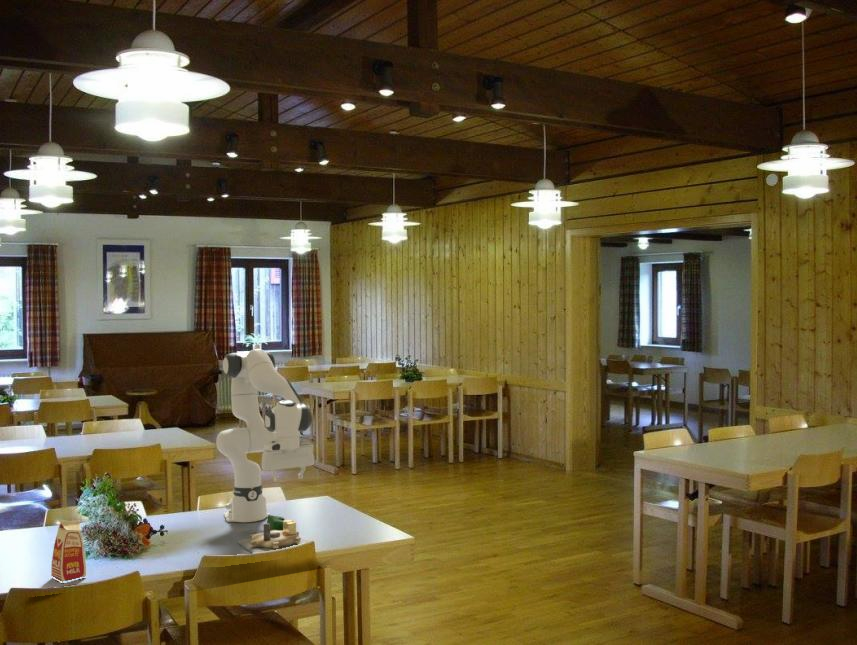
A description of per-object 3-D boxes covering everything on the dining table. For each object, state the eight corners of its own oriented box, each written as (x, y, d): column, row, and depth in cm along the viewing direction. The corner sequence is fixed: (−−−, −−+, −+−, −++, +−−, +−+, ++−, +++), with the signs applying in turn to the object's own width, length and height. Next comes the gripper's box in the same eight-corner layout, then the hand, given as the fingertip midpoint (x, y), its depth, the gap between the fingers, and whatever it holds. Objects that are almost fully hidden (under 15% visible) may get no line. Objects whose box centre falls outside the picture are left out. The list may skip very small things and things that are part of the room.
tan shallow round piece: (238, 546, 315) (237, 524, 315) (262, 533, 333) (261, 513, 333) (288, 549, 309) (287, 527, 309) (310, 536, 327) (309, 515, 327)
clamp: (282, 544, 338) (289, 525, 335) (268, 542, 336) (274, 523, 333) (279, 526, 348) (285, 508, 346) (265, 524, 346) (271, 505, 344)
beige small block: (283, 531, 326) (282, 520, 326) (290, 530, 328) (290, 519, 328) (288, 534, 321) (288, 523, 321) (296, 533, 322) (296, 522, 322)
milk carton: (62, 584, 278) (61, 523, 278) (49, 579, 284) (48, 519, 284) (89, 577, 285) (88, 517, 285) (76, 572, 291) (75, 514, 291)
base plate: (237, 542, 325) (237, 540, 325) (291, 534, 336) (291, 532, 336) (256, 556, 306) (256, 553, 306) (313, 546, 317) (313, 544, 317)
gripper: (310, 440, 332) (310, 475, 332) (259, 445, 322) (260, 481, 322) (316, 442, 326) (317, 478, 327) (265, 447, 316) (265, 484, 316)
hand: (288, 479), depth 324 cm, fingers open, 8 cm apart
